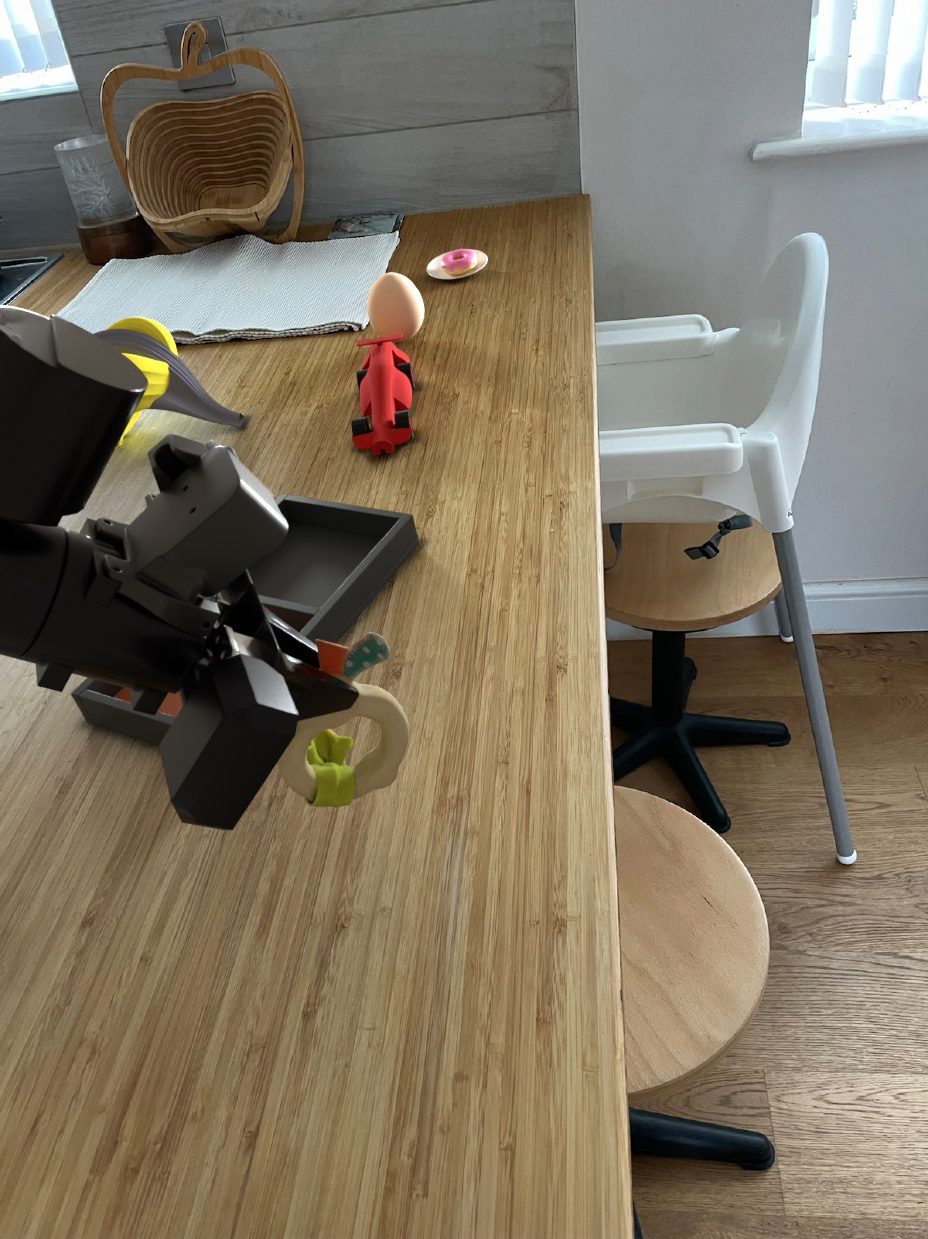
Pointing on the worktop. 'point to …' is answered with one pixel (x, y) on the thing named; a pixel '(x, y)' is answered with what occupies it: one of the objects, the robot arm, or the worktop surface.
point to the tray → (290, 592)
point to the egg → (395, 306)
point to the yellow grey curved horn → (164, 373)
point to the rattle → (321, 753)
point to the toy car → (384, 396)
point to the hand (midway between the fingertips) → (349, 688)
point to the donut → (457, 264)
